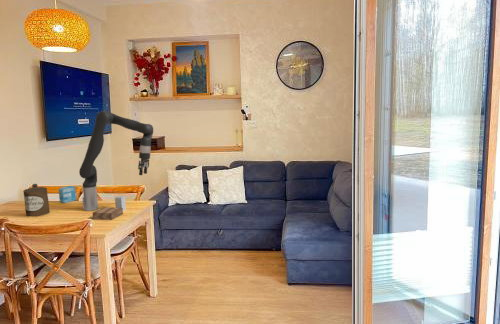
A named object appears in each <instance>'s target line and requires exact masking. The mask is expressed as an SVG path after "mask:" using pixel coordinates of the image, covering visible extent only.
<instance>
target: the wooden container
mask: <svg viewBox="0 0 500 324" xmlns="http://www.w3.org/2000/svg"><path fill="white" fill-rule="evenodd" d="M31 186H32V187H29V188H26V189H24V190H23V191H22V192H23V198H24V199H23V200H24V209H25V216H26V217H29V216H35V217H41V216H45V215H48V214H49V213H50V203H49V196H48V195H49V194H48V189H47V187H45V186H44V187H43V186H38V184H37V183H33V184H32V185H31Z"/></svg>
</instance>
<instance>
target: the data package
mask: <svg viewBox="0 0 500 324" xmlns="http://www.w3.org/2000/svg"><path fill="white" fill-rule="evenodd" d="M58 198H59V202H60V203H61V204H66V203H70V202H74V201H76V199H77V195H76V187H75V186H74V185H68V186H64V187H60V188H58Z"/></svg>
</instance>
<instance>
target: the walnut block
mask: <svg viewBox="0 0 500 324" xmlns="http://www.w3.org/2000/svg"><path fill="white" fill-rule="evenodd" d="M122 215H124V211H123V208H116V207H111V206H109V207H108V206H105V207H104V206H103V208H100V209H99V208H98V209H96V210H94V211H93V212H92V220H100V221H101V220H104V221H113V220H115V219H116V218H119V217H120V216H122Z"/></svg>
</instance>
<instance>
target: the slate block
mask: <svg viewBox="0 0 500 324" xmlns="http://www.w3.org/2000/svg"><path fill="white" fill-rule="evenodd" d="M114 202H115V203H114V205H115V208H123V212H124V211H126V209H127V208H126V197H125V196H124V195H123V196H122V195H118V196H116V197H114Z"/></svg>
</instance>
